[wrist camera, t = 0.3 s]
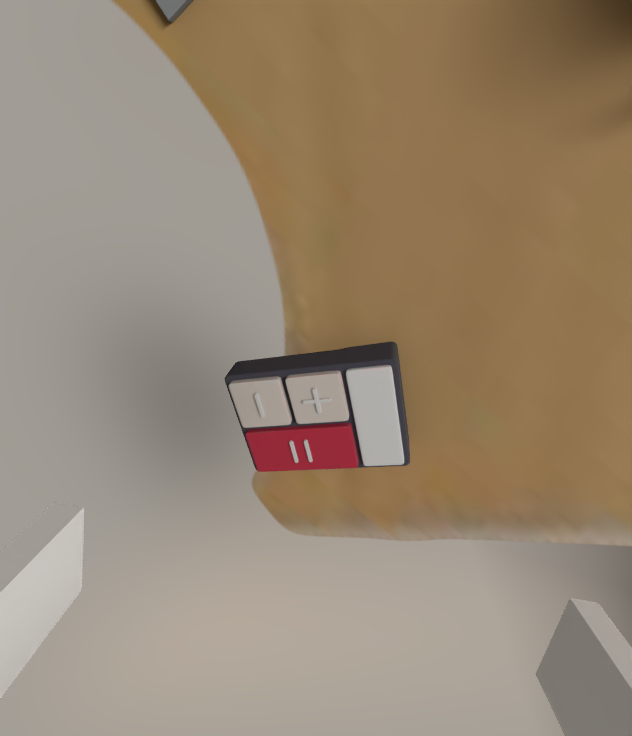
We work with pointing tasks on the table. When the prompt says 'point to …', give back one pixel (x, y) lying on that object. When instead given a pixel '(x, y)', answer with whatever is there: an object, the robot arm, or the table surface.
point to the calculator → (323, 409)
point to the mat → (173, 7)
